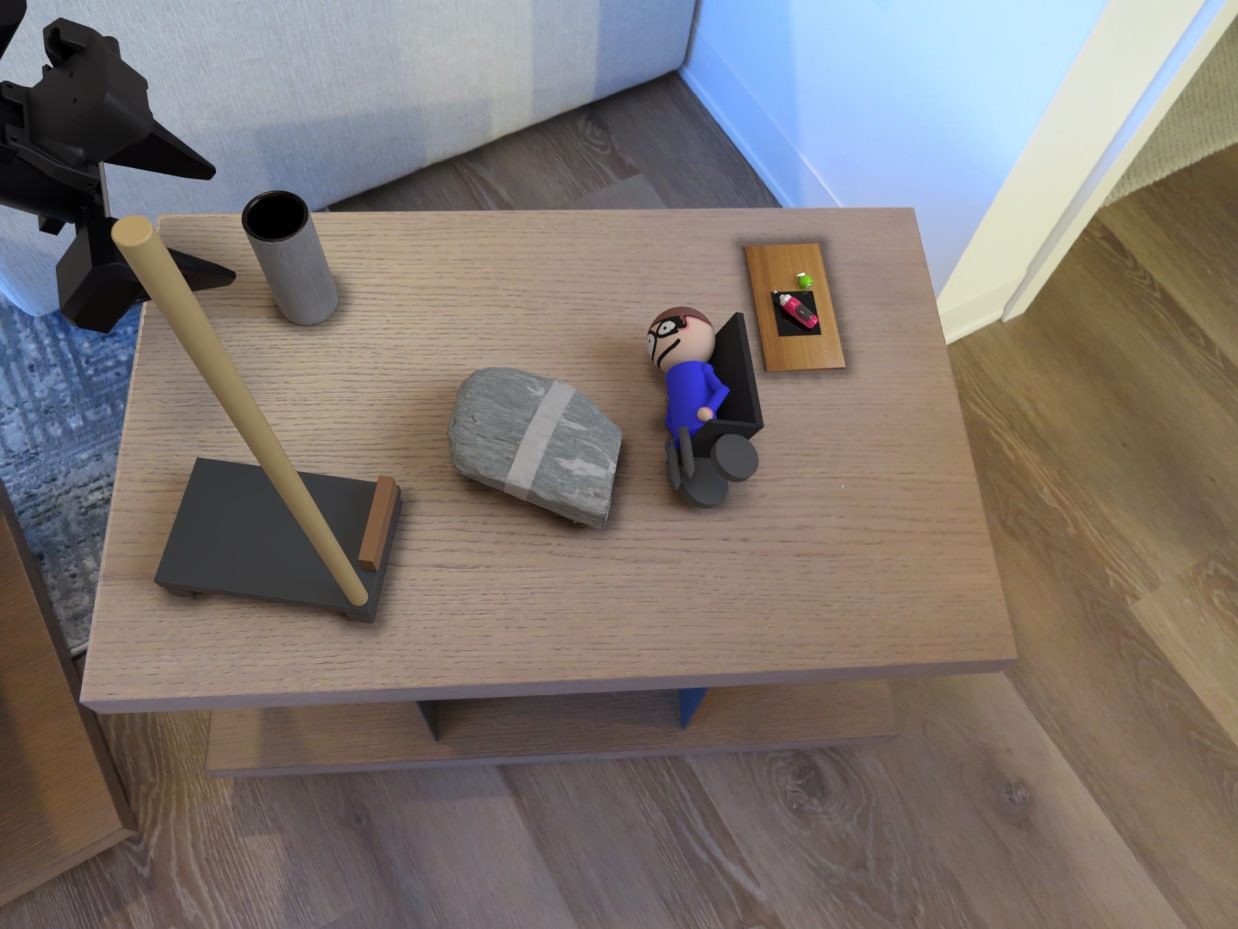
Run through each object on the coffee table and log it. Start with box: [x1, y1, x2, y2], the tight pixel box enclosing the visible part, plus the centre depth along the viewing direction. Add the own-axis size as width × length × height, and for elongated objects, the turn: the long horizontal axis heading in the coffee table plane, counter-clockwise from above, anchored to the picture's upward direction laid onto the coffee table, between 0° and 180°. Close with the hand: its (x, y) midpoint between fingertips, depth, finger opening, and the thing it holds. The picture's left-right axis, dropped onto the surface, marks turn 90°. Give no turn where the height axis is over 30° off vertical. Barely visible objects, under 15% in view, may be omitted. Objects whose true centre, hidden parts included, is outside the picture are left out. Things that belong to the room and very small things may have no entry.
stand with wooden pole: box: [111, 214, 403, 624], centre depth 48 cm, size 14×9×40 cm, turn 83°
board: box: [744, 243, 847, 373], centre depth 77 cm, size 6×12×2 cm, turn 5°
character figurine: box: [646, 306, 765, 510], centre depth 69 cm, size 8×7×15 cm
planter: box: [240, 189, 339, 326], centre depth 70 cm, size 4×4×10 cm
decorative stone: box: [446, 366, 623, 531], centre depth 68 cm, size 13×10×6 cm
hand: (223, 225), depth 65 cm, fingers open, 9 cm apart
